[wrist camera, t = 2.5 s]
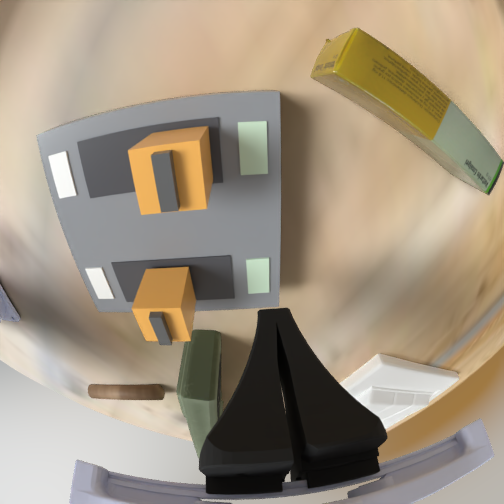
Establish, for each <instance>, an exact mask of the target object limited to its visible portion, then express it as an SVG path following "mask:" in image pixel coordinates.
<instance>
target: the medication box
mask: <svg viewBox="0 0 504 504" xmlns="http://www.w3.org/2000/svg"><path fill="white" fill-rule="evenodd" d="M311 78H313V79H314V80H316V81H318V82H320V83H322V84H324V85H326V86H327V87H329V88H331V89H333V90H335V91H336V92H338V93H340V94H342V95H343V96H345V97H347V98H348V99H350V100H352V101H353V102H355V103H357V104H358V105H360V106H361V107H363V108H364V109H366V110H368V111H369V112H371V113H372V114H374V115H375V116H377V117H378V118H380V119H381V120H383V121H384V122H386V123H387V124H389V125H390V126H391V127H393V128H394V129H396V130H397V131H398V132H400V133H401V134H402V135H404V136H405V137H407V138H408V139H409V140H410V141H412V142H413V143H414V144H416V145H417V146H418V147H419V148H421V149H422V150H423V151H424V152H426V153H427V154H428V155H429V156H430V157H432V158H433V159H434V160H435V161H436V162H438V163H439V164H440V165H441V166H442V167H443V168H445V169H446V170H447V171H448V172H449V173H450V174H452V175H454V176H456V177H457V178H459V179H460V180H462V181H463V182H465V183H467V184H469V185H471V186H472V187H474V188H476V189H478V190H480V191H481V192H483V193H485V194H487V195H490V193H491V191H492V190H493V188H494V186H495V184H496V182H497V180H498V178H499V175H500V173H501V170H502V168H503V165H504V162H503V160H502V159H501V158H500V156H499V155H498V154H497V152H496V151H495V150H494V148H493V147H492V146H491V144H490V143H489V142H488V141H487V139H486V138H485V137H484V136H483V135H482V133H481V132H480V131H479V130H478V129H477V128H476V126H475V125H474V124H473V123H472V122H471V121H470V120H469V119H468V117H467V116H466V115H465V114H464V113H463V112H462V111H461V110H460V109H459V108H458V107H457V106H456V105H455V104H454V103H453V102H452V101H451V100H450V99H449V98H448V97H447V96H446V95H445V94H444V93H443V92H442V91H441V90H440V89H439V88H438V87H436V86H435V85H434V84H433V83H432V82H431V81H430V80H429V79H427V78H426V77H425V76H424V75H423V74H422V73H420V72H419V71H418V70H417V69H416V68H414V67H413V66H412V65H411V64H409V63H408V62H407V61H406V60H404V59H403V58H402V57H400V56H399V55H398V54H396V53H395V52H394V51H392V50H391V49H390V48H388V47H387V46H385V45H384V44H382V43H381V42H379V41H378V40H376V39H375V38H373V37H372V36H370V35H369V34H367V33H366V32H364V31H363V30H361V29H359V28H353V29H351V30H350V31H348V32H345V33H343V34H341V35H339V36H337V37H336V38H334V39H332V40H329V39H326V44H325V45H324V47H323V49H322V50H321V52H320V54H319V56H318V58H317V60H316V62H315V65H314V67H313V70H312V73H311Z"/></svg>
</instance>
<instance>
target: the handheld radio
mask: <svg viewBox="0 0 504 504" xmlns="http://www.w3.org/2000/svg"><path fill="white" fill-rule="evenodd" d="M176 392H177V395H178V399H179V403H180V406H181V410H182V413H183V415H184V417H185V418H186V420H187V423H188V427H189V430H190V433H191V437H192V440H193V443H194V446H195V449H196V452H197V456H198V458H199V457H200V452H201V449H202V446H203V444H204V441H205V439H206V436H207V435H208V433H209V432H210V431H211V429H212V428H213V426H214V425H215V424H216V422H217V421H218V419H219V418H220V416H221V415H222V413H223V401H222V400H221V398H222V394H221V335H220V333H219V332H217V331H214V330H193V331H192V336H191V341H185V344H184V350H183V355H182V361H181V367H180V372H179V378H178V384H177V390H176Z"/></svg>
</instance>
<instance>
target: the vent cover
mask: <svg viewBox="0 0 504 504" xmlns="http://www.w3.org/2000/svg"><path fill="white" fill-rule="evenodd" d="M458 380H459V376H458V374H457V372H454V371H450V370H445V369H441V368H436V367H432V366H428V365H423V364H419V363H415V362H411V361H407V360H403V359H399V358H395V357H392V356H388V355H384V354H377V355H375V356H374V357H373V358H372V359H370V360H369V361H368V362H367V363H365V364H364V365H363V366H362V367H360V368H359V369H358V370H356V371H355V372H354V373H353V374H351V375H350V376H349V377H347V378H346V379H345V380H343V381H342V382H340V383H339V384H340V385H341V386H342V387H343V388H344V389H345V390H346V391H348V392H349V393H350V394H351V395H352V396H353V397H354V398H355V399H356V400H357V401H359V402H360V403H361V404H362V405H363V406H365V407H366V408H367V409H369V410H370V411H371V412H373V413H374V414H375V415H377V416H378V417H379V418H380V419H381V421H382V423H383V425H384V428H385V429H387V428H388V427H390V426H392V425H394V424H395V423H397V422H399V421H400V420H402V419H404V418H405V417H407V416H408V415H410V414H412V413H414V412H416V411H418V410H420V409H422V408H424V407H426V406H428V404H429V402H430V401H431V400H432V399H434V398H435V397H437V396H438V395H439V394H441V393H442V392H443V391H445V390H446V389H447V388H449V387H450V386H451V385H453V384H454V383H455V382H456V381H458Z"/></svg>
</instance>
